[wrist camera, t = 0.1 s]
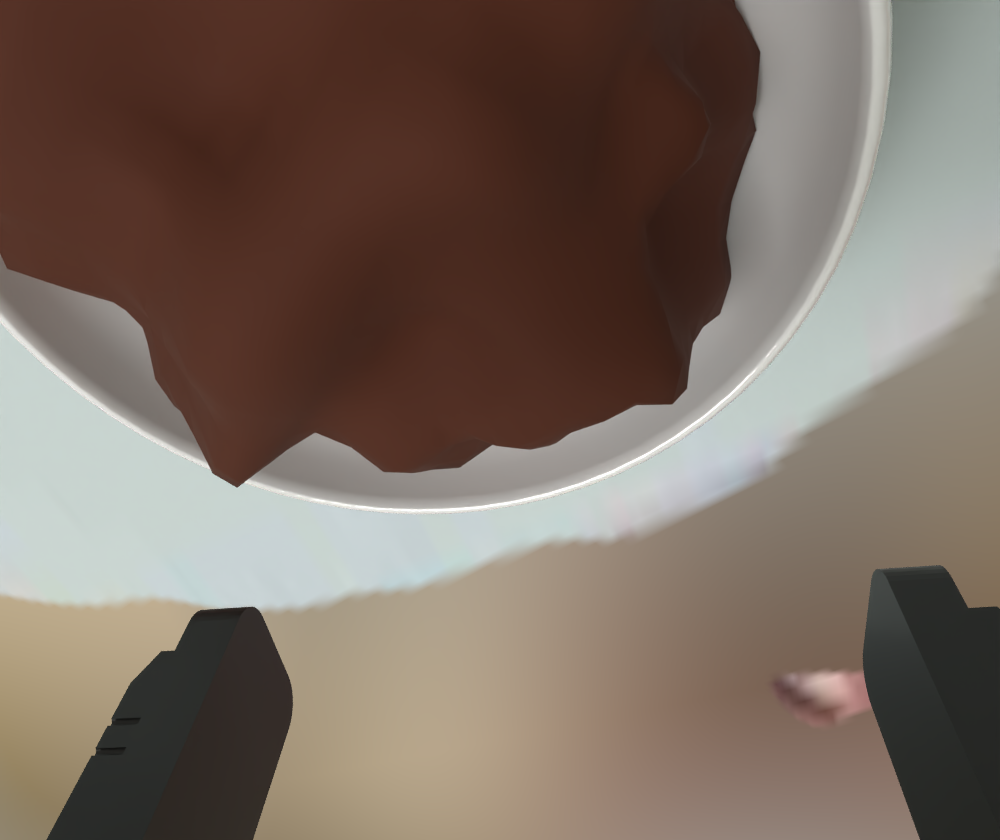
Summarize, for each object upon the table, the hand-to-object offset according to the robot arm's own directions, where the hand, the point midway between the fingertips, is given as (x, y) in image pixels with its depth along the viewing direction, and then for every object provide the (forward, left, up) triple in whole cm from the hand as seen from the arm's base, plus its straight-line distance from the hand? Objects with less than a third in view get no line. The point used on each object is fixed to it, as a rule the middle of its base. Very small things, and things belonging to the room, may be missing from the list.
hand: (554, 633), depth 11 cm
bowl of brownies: (+1, -4, -23) cm, 23 cm away
